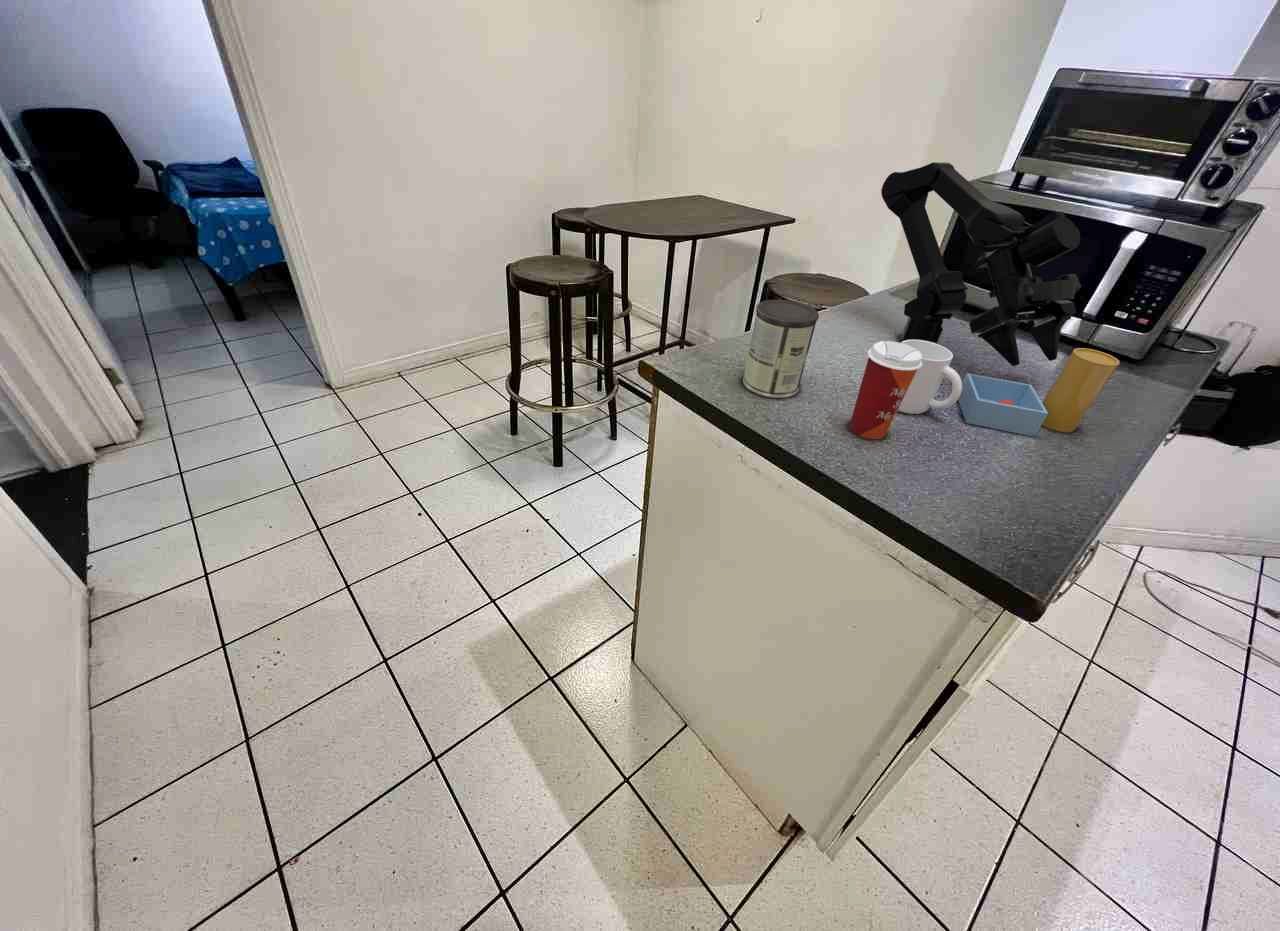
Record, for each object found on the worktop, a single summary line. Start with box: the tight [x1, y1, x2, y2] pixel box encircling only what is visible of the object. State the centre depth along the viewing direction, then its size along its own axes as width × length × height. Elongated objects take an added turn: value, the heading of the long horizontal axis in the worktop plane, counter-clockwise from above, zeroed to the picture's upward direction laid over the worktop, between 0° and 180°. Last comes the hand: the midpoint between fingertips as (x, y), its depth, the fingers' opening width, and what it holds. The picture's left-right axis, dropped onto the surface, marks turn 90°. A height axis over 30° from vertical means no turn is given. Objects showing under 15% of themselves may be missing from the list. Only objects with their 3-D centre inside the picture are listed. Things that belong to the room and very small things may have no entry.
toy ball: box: [997, 399, 1015, 406], centre depth 90 cm, size 3×3×3 cm
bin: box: [957, 373, 1048, 437], centre depth 91 cm, size 10×10×4 cm
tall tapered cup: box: [1041, 347, 1121, 433], centre depth 87 cm, size 6×6×12 cm
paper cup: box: [849, 340, 922, 440], centre depth 81 cm, size 8×8×14 cm
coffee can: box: [742, 299, 820, 399], centre depth 92 cm, size 10×10×14 cm
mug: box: [897, 340, 963, 415], centre depth 89 cm, size 12×8×10 cm
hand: (1034, 362), depth 92 cm, fingers open, 9 cm apart
